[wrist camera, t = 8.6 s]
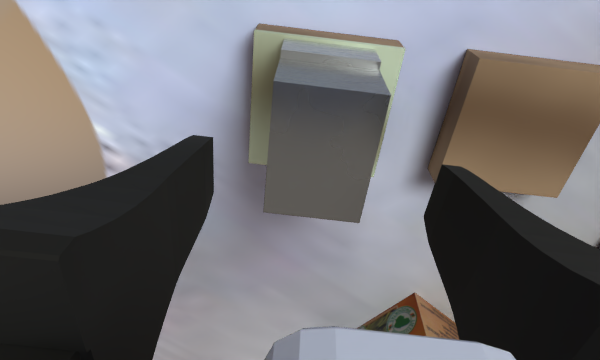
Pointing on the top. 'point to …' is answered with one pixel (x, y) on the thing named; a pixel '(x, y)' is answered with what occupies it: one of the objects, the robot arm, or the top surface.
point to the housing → (324, 130)
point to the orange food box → (413, 320)
